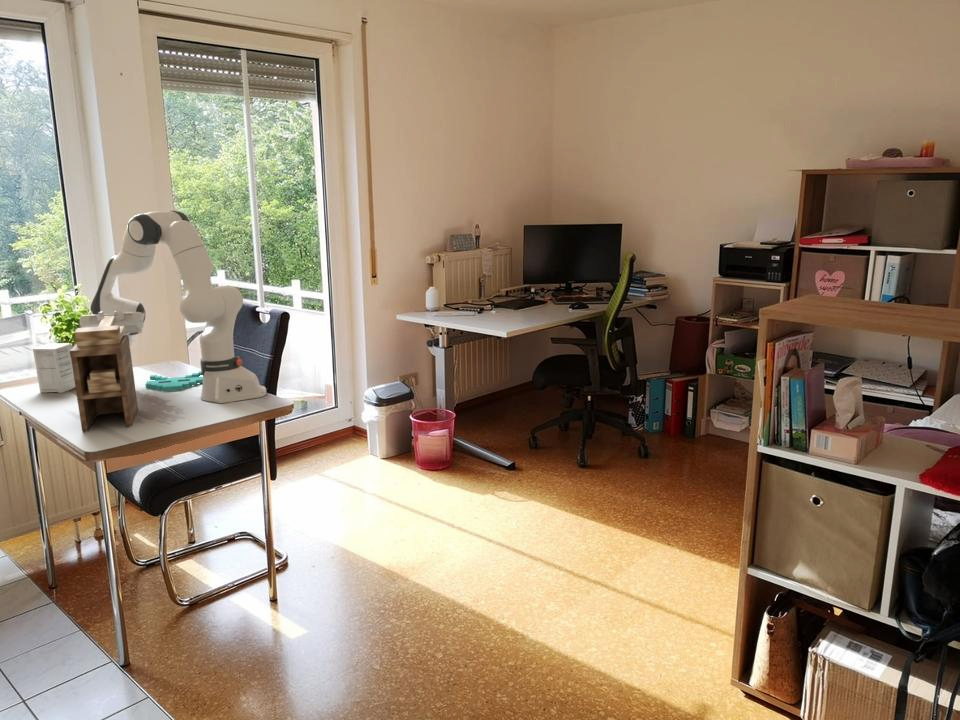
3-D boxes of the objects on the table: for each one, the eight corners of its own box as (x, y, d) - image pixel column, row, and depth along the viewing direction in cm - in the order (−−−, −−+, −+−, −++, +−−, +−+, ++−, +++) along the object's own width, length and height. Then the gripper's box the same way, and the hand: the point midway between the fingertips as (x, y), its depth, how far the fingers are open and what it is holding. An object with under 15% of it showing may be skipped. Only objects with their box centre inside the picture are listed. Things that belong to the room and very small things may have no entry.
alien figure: (151, 380, 290) (143, 394, 272) (150, 375, 290) (142, 388, 271) (205, 376, 295) (201, 389, 277) (204, 371, 295) (200, 384, 276)
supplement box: (79, 386, 282) (72, 343, 278) (62, 393, 273) (55, 348, 269) (56, 385, 283) (49, 342, 279) (39, 392, 275) (31, 348, 270)
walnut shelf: (138, 409, 253) (128, 334, 246) (131, 427, 234) (120, 347, 228) (92, 413, 248) (81, 337, 242) (82, 432, 230) (69, 351, 224)
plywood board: (129, 320, 258) (127, 307, 257) (119, 343, 233) (117, 329, 232) (91, 322, 255) (89, 309, 253) (76, 346, 230) (74, 332, 228)
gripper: (83, 320, 265) (74, 306, 252) (145, 316, 271) (139, 303, 258) (84, 337, 263) (74, 324, 250) (146, 332, 269) (140, 320, 257)
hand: (108, 313), depth 254 cm, fingers closed on plywood board, 3 cm apart
